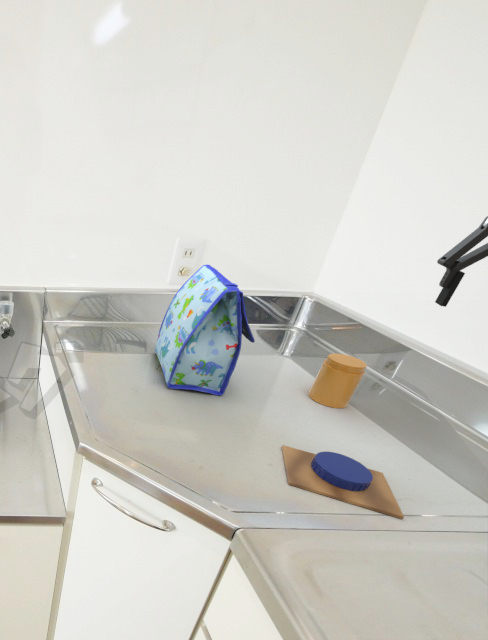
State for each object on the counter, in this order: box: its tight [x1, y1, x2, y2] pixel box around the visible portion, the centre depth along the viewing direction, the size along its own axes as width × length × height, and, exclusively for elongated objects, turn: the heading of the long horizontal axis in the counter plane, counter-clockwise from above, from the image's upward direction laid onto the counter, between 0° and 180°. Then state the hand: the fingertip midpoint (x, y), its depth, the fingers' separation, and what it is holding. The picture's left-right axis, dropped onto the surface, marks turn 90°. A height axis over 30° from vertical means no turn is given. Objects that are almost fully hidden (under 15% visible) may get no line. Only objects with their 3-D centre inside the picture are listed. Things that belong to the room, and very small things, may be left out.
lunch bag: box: [154, 264, 256, 397], centre depth 104 cm, size 22×17×26 cm
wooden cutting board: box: [281, 444, 405, 520], centre depth 76 cm, size 16×12×1 cm
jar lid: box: [311, 451, 373, 491], centre depth 76 cm, size 8×8×2 cm
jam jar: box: [307, 353, 367, 409], centre depth 99 cm, size 8×8×11 cm
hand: (486, 310), depth 80 cm, fingers open, 13 cm apart
